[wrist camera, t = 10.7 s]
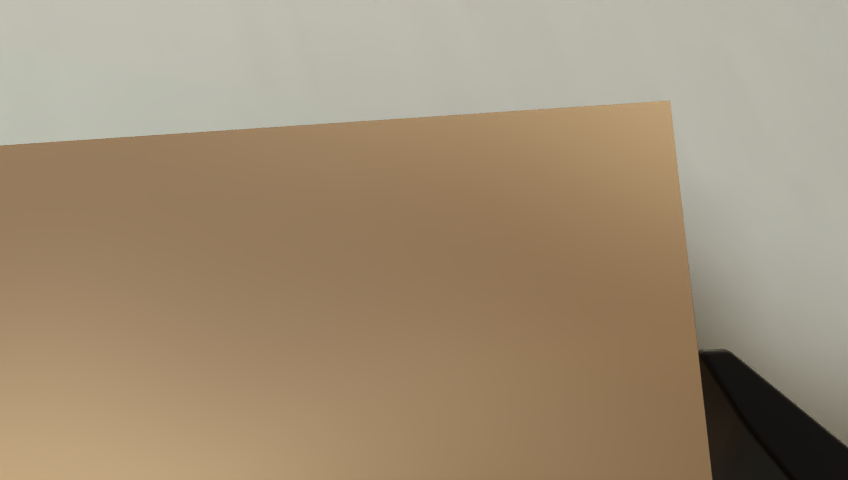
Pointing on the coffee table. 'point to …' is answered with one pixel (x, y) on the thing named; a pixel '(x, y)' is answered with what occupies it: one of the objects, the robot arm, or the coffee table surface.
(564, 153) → the wooden block
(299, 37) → the coffee table surface
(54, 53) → the coffee table surface
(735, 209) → the coffee table surface
